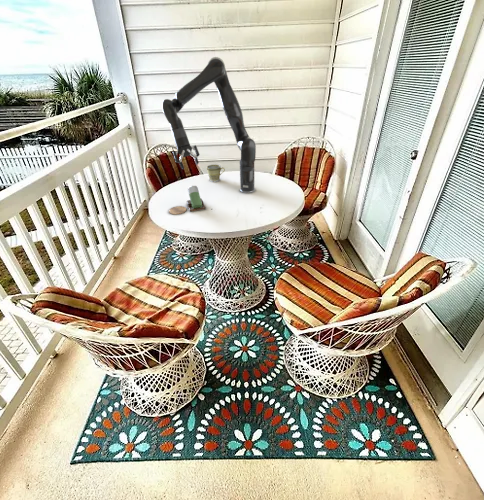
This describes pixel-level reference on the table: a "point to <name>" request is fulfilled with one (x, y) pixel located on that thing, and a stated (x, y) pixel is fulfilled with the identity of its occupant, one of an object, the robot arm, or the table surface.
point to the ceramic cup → (214, 172)
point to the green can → (194, 197)
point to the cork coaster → (177, 210)
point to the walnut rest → (195, 208)
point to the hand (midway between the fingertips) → (190, 166)
